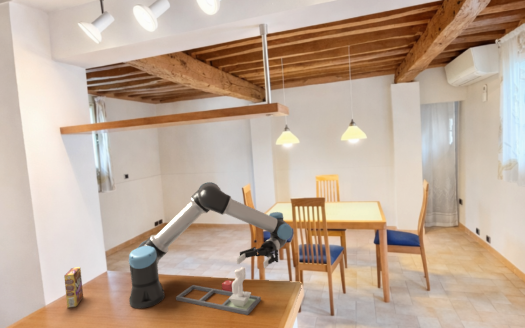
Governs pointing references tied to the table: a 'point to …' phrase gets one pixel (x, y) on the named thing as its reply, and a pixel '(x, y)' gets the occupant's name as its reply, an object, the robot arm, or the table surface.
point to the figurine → (239, 289)
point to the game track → (225, 306)
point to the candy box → (73, 287)
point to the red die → (227, 285)
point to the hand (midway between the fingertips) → (250, 263)
